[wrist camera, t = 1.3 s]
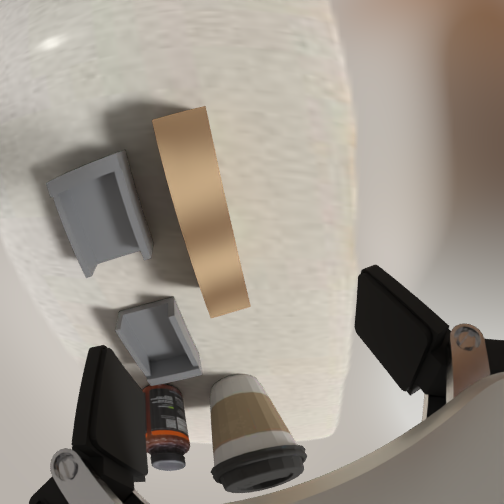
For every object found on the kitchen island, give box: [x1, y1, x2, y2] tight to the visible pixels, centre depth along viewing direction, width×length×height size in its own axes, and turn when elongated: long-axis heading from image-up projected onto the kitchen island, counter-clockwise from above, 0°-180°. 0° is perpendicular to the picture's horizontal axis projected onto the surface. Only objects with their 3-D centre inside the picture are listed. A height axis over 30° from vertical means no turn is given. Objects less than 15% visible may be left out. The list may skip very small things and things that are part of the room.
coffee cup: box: [210, 374, 307, 493], centre depth 28 cm, size 11×11×15 cm
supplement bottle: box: [142, 384, 190, 471], centre depth 27 cm, size 6×6×11 cm
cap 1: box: [46, 150, 153, 278], centre depth 19 cm, size 9×6×3 cm
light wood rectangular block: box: [152, 106, 251, 318], centre depth 21 cm, size 16×4×5 cm, turn 11°
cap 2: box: [115, 297, 202, 386], centre depth 26 cm, size 9×6×3 cm
